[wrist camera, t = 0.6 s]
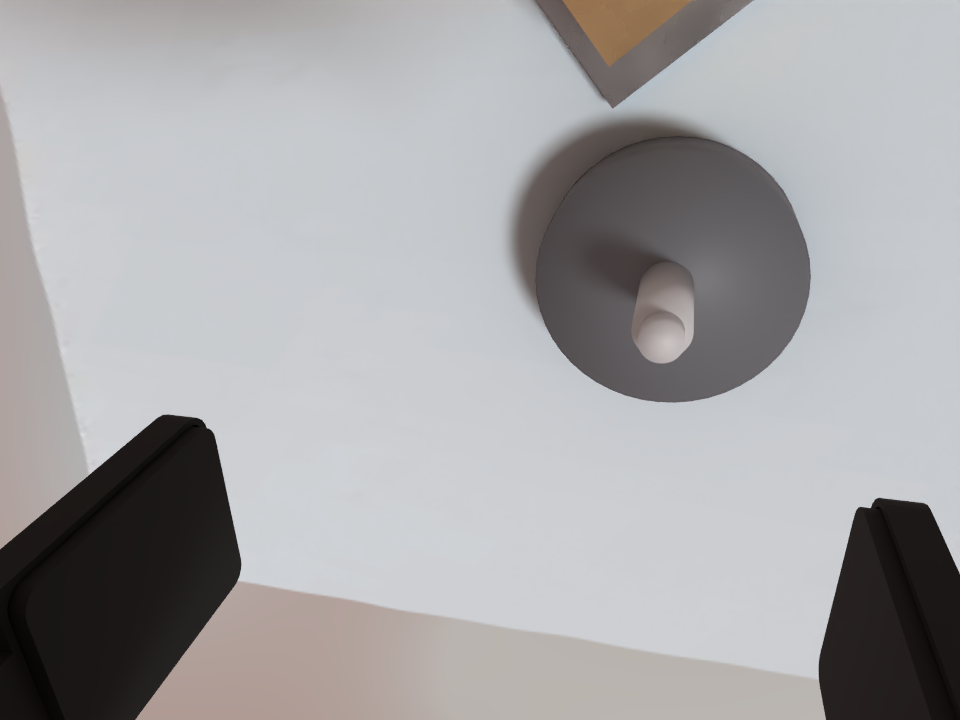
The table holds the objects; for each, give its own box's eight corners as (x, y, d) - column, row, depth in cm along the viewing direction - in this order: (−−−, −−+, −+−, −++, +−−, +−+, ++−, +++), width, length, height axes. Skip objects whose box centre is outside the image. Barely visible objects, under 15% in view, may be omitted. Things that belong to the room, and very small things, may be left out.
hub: (709, 80, 30) (713, 115, 23) (851, 293, 33) (896, 387, 25) (500, 233, 35) (449, 303, 28) (636, 408, 38) (622, 515, 30)
